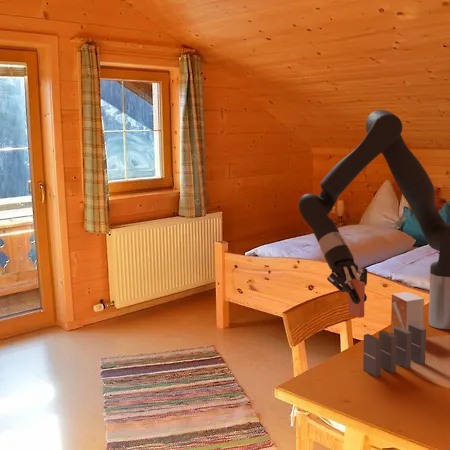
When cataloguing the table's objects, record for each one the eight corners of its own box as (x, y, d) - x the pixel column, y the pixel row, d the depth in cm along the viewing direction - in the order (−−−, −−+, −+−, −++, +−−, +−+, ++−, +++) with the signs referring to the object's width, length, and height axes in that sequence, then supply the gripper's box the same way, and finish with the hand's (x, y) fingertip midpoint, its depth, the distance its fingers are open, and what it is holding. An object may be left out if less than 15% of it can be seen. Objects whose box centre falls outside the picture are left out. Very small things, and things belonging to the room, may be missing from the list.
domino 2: (368, 368, 156) (368, 333, 154) (380, 375, 151) (381, 339, 150) (363, 370, 155) (363, 334, 153) (375, 377, 151) (376, 340, 149)
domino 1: (352, 311, 166) (353, 278, 164) (364, 316, 162) (364, 282, 160) (348, 312, 165) (349, 279, 164) (359, 317, 161) (360, 283, 159)
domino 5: (412, 357, 162) (412, 323, 161) (425, 363, 158) (426, 328, 156) (407, 358, 162) (408, 324, 160) (420, 364, 157) (421, 330, 156)
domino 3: (383, 364, 158) (383, 330, 156) (395, 371, 154) (396, 336, 152) (378, 366, 157) (378, 331, 156) (391, 372, 153) (391, 337, 151)
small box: (390, 333, 181) (391, 293, 179) (407, 330, 183) (408, 291, 180) (405, 342, 173) (406, 300, 171) (423, 339, 175) (424, 298, 173)
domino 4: (397, 360, 160) (398, 326, 159) (410, 367, 156) (411, 332, 154) (393, 362, 160) (393, 327, 158) (406, 368, 155) (406, 333, 153)
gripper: (321, 246, 164) (347, 299, 155) (360, 241, 170) (387, 291, 161) (311, 260, 169) (335, 312, 161) (348, 255, 175) (374, 305, 166)
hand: (361, 301), depth 161 cm, fingers closed on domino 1, 1 cm apart
